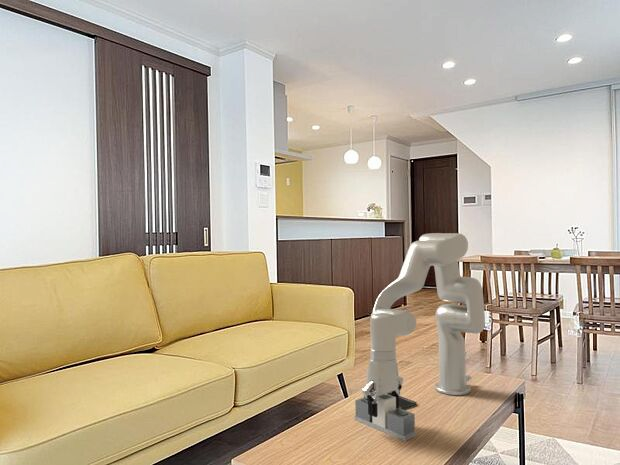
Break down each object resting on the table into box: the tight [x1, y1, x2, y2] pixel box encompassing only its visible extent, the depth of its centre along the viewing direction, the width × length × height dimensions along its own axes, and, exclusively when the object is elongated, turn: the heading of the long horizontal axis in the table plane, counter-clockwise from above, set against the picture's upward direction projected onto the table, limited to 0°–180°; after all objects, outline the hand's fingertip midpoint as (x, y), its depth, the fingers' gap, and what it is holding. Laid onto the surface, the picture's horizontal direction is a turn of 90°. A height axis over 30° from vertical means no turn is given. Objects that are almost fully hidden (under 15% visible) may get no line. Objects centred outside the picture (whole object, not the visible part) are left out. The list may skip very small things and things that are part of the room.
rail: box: [354, 397, 417, 442], centre depth 140 cm, size 5×20×6 cm, turn 40°
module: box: [372, 394, 396, 428], centre depth 140 cm, size 5×5×8 cm
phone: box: [373, 392, 418, 411], centre depth 161 cm, size 8×1×15 cm
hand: (383, 411), depth 140 cm, fingers open, 9 cm apart
